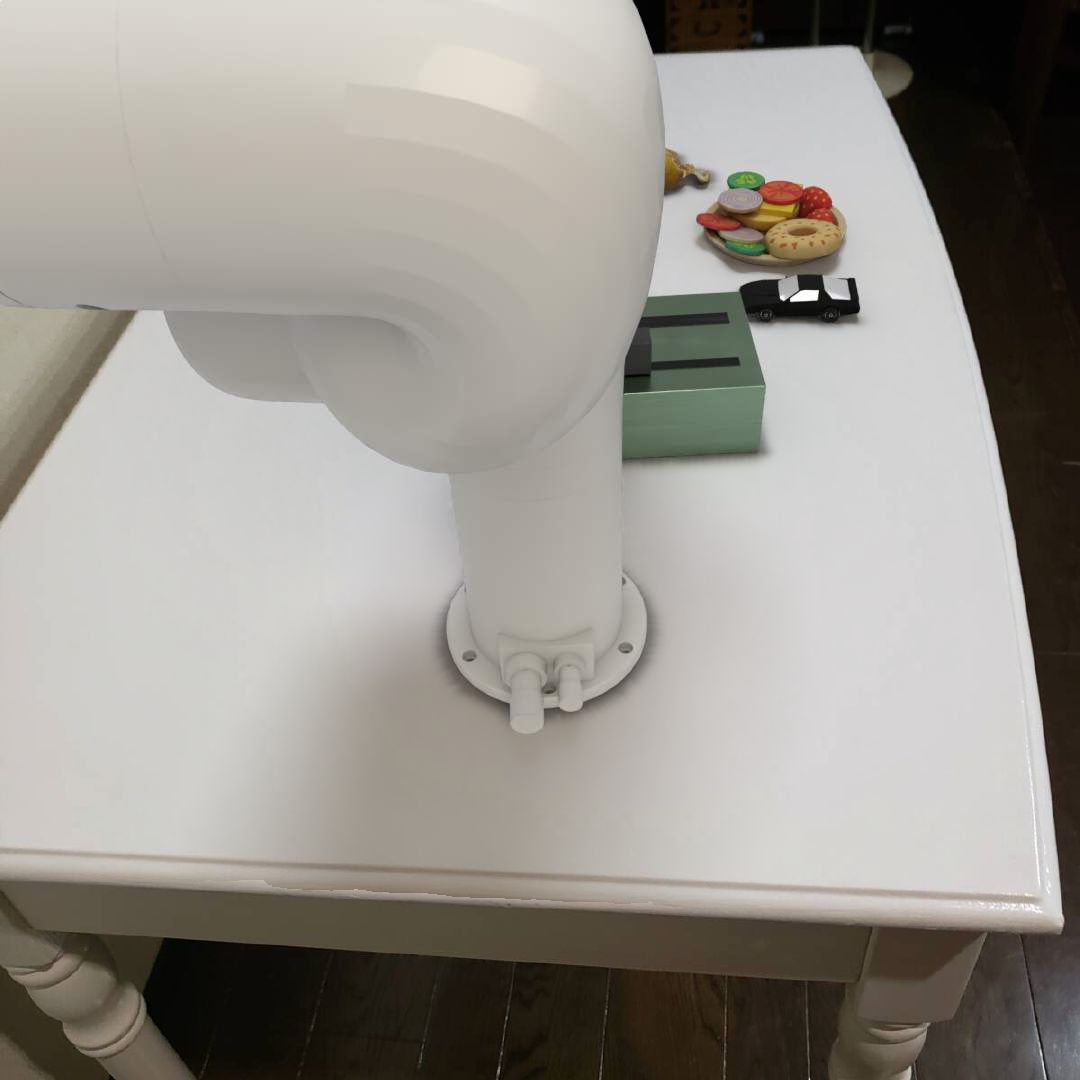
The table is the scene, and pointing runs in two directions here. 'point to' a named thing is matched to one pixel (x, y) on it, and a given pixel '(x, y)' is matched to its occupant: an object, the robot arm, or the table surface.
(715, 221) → the toy food set
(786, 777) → the table surface
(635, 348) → the slider
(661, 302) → the toaster
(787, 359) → the table surface
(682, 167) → the golden rounded piece
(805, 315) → the toy car
